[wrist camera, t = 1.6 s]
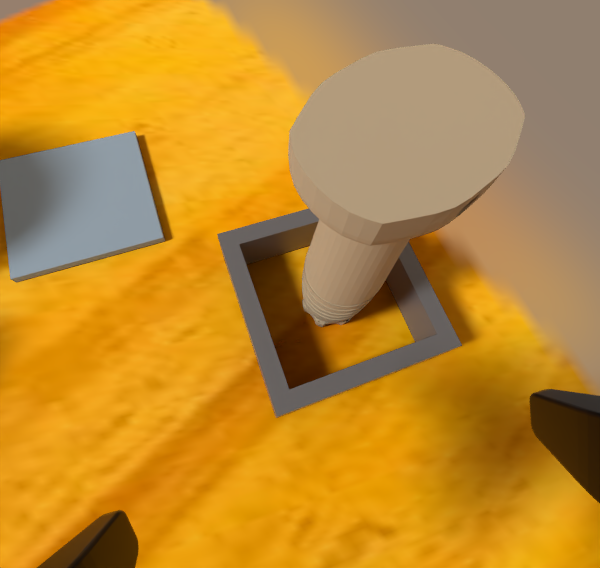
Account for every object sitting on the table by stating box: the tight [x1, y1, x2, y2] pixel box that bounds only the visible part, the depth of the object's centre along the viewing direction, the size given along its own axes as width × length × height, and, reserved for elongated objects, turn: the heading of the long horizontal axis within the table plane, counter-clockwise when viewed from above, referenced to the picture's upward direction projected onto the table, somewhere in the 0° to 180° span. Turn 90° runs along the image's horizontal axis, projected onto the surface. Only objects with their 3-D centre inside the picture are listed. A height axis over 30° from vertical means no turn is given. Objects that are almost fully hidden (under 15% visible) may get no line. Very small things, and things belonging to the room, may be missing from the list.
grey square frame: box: [217, 209, 462, 418], centre depth 22 cm, size 10×10×3 cm
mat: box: [0, 131, 165, 282], centre depth 24 cm, size 9×9×1 cm
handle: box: [288, 44, 525, 327], centre depth 16 cm, size 5×6×15 cm
